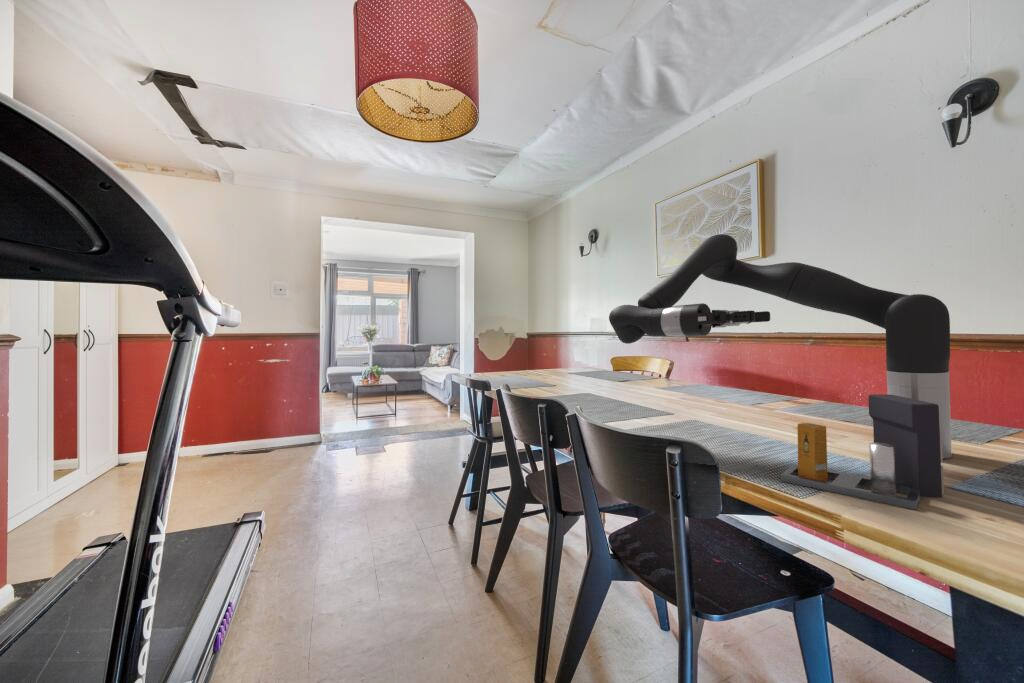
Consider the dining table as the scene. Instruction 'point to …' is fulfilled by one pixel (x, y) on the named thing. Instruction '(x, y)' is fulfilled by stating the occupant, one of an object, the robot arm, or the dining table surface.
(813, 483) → the hole plate
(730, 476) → the dining table surface
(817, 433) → the supplement box
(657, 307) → the robot arm
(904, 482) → the black coffee maker
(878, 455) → the steel pin
